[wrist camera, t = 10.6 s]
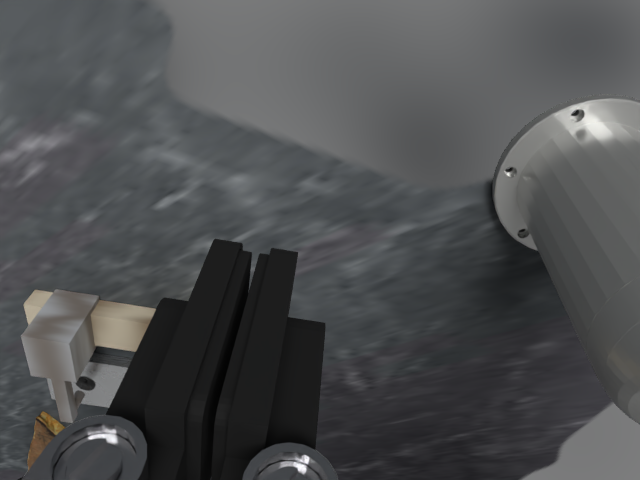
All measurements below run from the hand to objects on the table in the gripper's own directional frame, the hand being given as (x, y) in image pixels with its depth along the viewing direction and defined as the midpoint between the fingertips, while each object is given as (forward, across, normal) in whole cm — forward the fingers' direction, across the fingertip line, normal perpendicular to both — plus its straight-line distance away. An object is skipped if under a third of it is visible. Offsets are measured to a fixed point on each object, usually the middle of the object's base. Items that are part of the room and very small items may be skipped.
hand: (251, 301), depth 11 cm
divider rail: (+27, +11, +33) cm, 44 cm away
